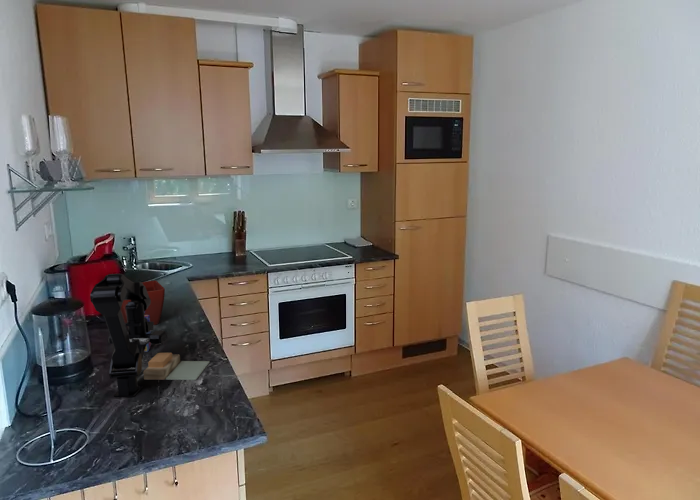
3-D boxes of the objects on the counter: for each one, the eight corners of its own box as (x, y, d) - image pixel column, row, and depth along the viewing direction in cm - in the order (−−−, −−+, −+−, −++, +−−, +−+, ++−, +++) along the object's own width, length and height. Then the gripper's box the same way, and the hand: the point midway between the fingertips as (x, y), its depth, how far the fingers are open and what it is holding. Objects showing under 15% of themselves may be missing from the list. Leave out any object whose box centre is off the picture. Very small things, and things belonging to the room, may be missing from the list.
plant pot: (159, 313, 235) (156, 279, 231) (168, 324, 219) (165, 288, 216) (116, 321, 225) (111, 286, 221) (122, 334, 209) (118, 296, 206)
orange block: (162, 367, 169) (162, 362, 168) (148, 367, 169) (148, 362, 169) (172, 357, 177) (171, 352, 176) (158, 357, 177) (158, 352, 177)
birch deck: (164, 379, 166) (163, 371, 166) (144, 379, 167) (143, 371, 166) (180, 362, 180) (179, 354, 180) (161, 361, 180) (161, 354, 180)
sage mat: (196, 379, 166) (196, 378, 166) (165, 379, 166) (165, 378, 166) (209, 362, 180) (209, 361, 179) (181, 362, 180) (181, 361, 180)
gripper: (171, 310, 177) (175, 350, 180) (121, 310, 178) (126, 350, 181) (158, 321, 166) (162, 363, 170) (105, 320, 167) (110, 363, 170)
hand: (140, 359), depth 173 cm, fingers closed
